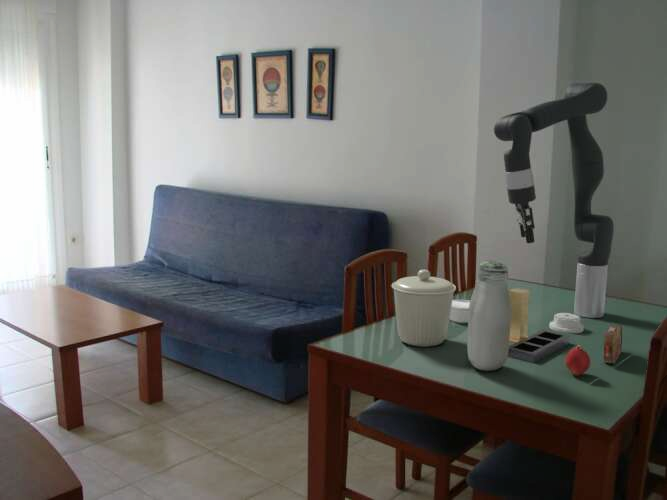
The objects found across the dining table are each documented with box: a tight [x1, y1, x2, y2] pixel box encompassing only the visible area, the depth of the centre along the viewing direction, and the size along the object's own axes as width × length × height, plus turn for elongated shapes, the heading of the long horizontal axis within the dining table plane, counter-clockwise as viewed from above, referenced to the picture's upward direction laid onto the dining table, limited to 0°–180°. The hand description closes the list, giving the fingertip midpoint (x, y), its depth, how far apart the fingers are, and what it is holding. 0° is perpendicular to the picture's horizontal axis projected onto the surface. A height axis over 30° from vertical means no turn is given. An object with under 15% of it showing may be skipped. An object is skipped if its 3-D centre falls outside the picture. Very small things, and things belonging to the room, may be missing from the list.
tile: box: [509, 335, 530, 343], centre depth 187 cm, size 7×7×1 cm
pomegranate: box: [564, 344, 591, 377], centre depth 158 cm, size 6×6×8 cm
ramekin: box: [449, 299, 470, 324], centre depth 206 cm, size 11×11×5 cm
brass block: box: [508, 287, 531, 341], centre depth 186 cm, size 4×4×14 cm
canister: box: [391, 269, 457, 348], centre depth 182 cm, size 18×18×21 cm
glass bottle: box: [467, 260, 511, 372], centre depth 160 cm, size 10×10×28 cm
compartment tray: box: [507, 329, 570, 364], centre depth 177 cm, size 22×8×2 cm, turn 137°
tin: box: [603, 324, 623, 365], centre depth 170 cm, size 15×3×8 cm, turn 148°
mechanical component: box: [548, 312, 585, 334], centre depth 197 cm, size 10×4×10 cm
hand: (527, 239), depth 187 cm, fingers open, 8 cm apart
